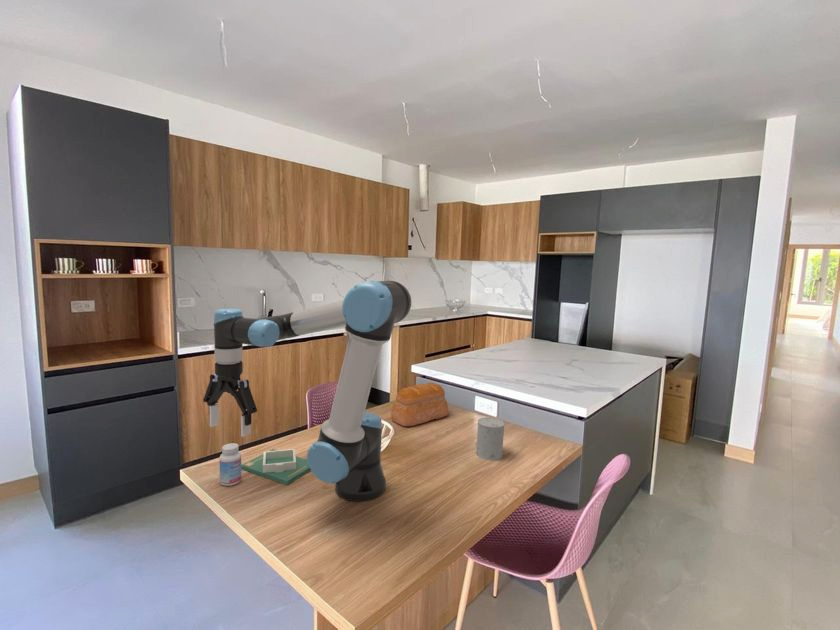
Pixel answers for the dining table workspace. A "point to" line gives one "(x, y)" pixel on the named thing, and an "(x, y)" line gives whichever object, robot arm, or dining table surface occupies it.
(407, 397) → the bread
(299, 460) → the board
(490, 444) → the grey concrete cylinder
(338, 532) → the dining table surface
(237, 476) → the pill bottle
